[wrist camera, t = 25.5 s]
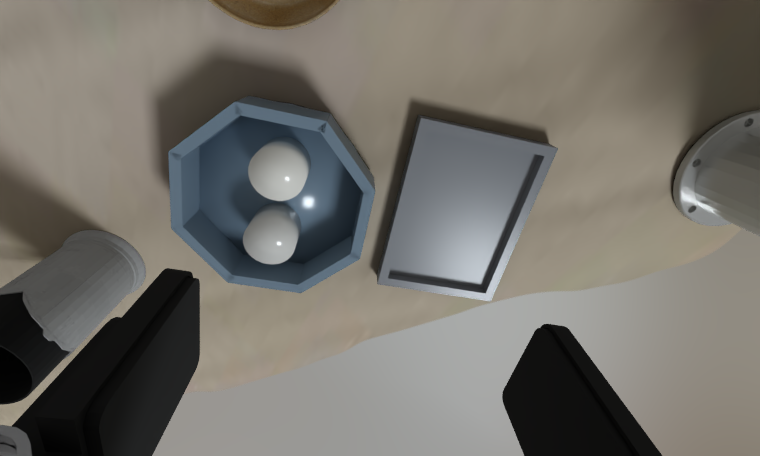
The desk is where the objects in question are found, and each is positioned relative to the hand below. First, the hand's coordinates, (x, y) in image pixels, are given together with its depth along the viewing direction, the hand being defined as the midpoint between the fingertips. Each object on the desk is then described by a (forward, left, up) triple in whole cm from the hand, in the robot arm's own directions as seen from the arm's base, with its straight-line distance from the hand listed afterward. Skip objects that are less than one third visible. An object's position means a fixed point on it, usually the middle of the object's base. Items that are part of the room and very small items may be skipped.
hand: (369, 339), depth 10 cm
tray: (-12, +7, -28) cm, 32 cm away
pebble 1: (+7, +5, -28) cm, 29 cm away
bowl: (+7, +8, -28) cm, 30 cm away
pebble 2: (+7, +12, -28) cm, 31 cm away
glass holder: (+28, +22, -28) cm, 46 cm away
